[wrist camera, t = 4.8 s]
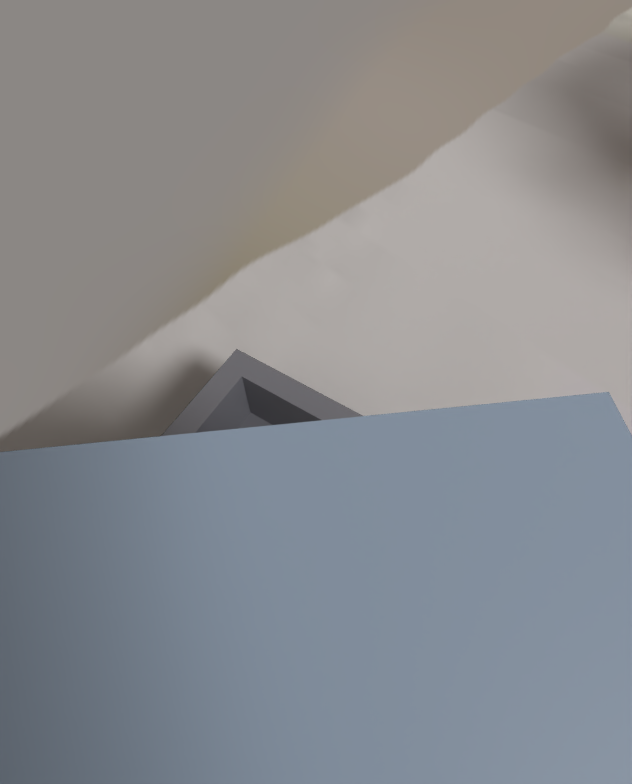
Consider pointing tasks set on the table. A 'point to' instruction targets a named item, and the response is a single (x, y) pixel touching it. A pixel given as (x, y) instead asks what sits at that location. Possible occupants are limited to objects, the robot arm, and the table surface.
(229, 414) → the tray
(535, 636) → the carton
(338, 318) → the table surface
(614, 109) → the table surface
